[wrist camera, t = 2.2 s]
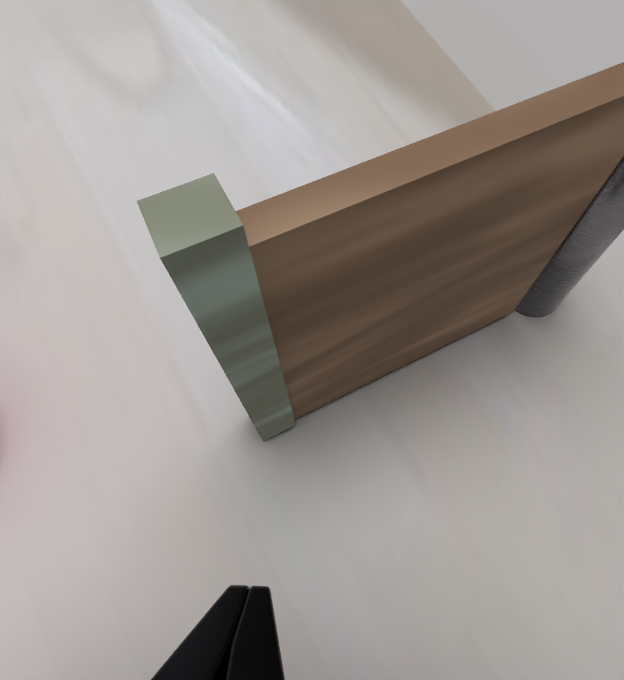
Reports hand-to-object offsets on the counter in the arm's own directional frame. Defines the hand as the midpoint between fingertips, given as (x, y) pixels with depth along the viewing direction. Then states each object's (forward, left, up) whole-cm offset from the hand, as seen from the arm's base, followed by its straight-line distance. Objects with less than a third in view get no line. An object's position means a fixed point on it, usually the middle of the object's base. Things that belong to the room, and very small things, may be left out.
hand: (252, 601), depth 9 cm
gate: (+7, -9, -10) cm, 15 cm away
